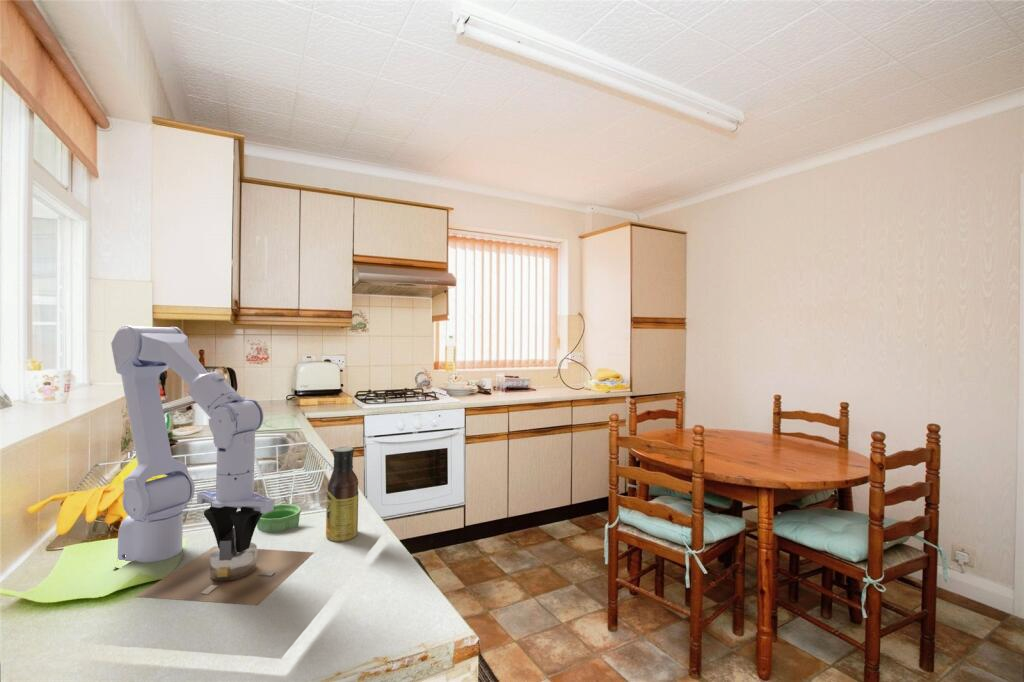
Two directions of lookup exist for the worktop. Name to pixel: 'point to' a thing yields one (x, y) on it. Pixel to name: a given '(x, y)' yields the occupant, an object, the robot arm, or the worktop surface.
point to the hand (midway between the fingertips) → (233, 548)
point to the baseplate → (247, 590)
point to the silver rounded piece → (232, 560)
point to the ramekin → (280, 518)
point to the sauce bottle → (342, 497)
